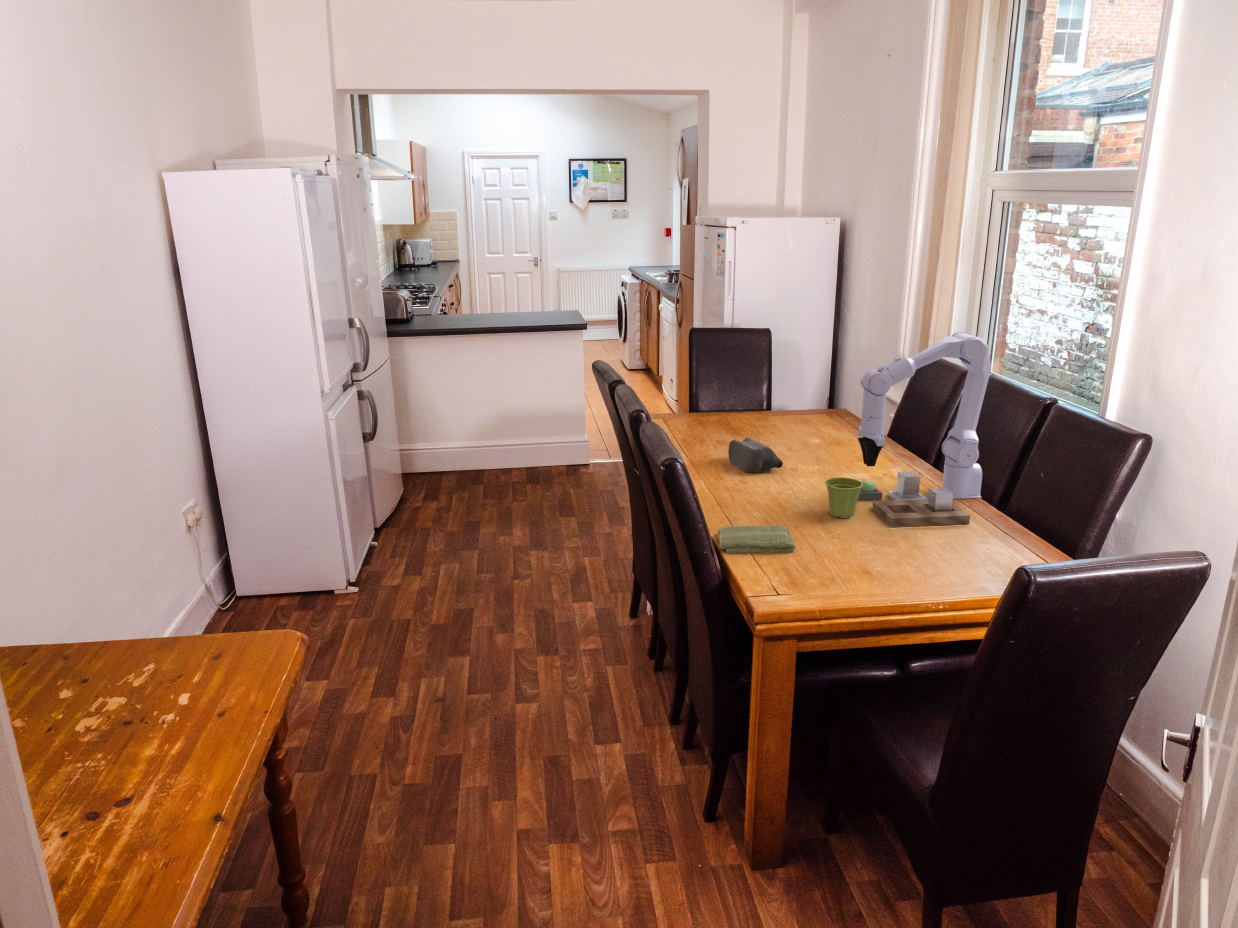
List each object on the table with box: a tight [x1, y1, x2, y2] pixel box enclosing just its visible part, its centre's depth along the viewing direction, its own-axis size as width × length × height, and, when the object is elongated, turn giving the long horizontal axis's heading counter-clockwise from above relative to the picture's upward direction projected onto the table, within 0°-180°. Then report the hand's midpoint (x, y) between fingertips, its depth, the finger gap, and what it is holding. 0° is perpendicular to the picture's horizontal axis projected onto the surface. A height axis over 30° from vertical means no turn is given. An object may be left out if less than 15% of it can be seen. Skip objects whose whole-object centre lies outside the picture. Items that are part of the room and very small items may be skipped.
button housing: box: [858, 486, 883, 502], centre depth 237 cm, size 6×6×2 cm
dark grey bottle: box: [727, 437, 784, 473], centre depth 265 cm, size 18×11×8 cm, turn 24°
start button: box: [861, 480, 876, 492], centre depth 236 cm, size 4×4×3 cm
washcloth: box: [717, 524, 796, 554], centre depth 206 cm, size 13×18×3 cm
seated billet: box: [927, 487, 954, 512], centre depth 222 cm, size 4×4×7 cm
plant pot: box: [824, 477, 863, 519], centre depth 224 cm, size 9×9×9 cm
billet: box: [895, 471, 922, 499], centre depth 234 cm, size 4×4×7 cm
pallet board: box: [871, 498, 971, 529], centre depth 222 cm, size 20×13×2 cm, turn 95°
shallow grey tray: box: [887, 490, 928, 501], centre depth 235 cm, size 8×7×2 cm
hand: (869, 465), depth 234 cm, fingers closed
